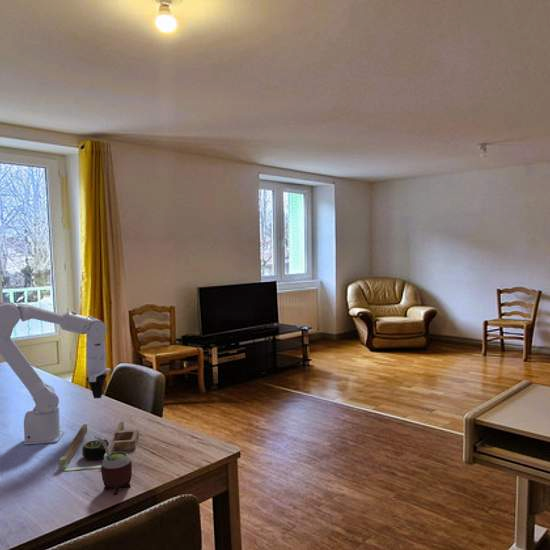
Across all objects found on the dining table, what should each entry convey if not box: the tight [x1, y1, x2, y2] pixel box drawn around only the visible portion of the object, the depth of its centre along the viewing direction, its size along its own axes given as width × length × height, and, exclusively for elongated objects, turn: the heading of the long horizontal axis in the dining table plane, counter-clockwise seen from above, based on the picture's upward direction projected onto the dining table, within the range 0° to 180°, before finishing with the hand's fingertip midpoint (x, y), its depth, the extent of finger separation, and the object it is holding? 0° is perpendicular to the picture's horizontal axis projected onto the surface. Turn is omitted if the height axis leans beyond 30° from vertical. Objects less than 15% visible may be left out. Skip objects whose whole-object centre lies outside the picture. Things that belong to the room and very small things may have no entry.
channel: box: [59, 421, 140, 472], centre depth 136 cm, size 18×26×3 cm
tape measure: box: [81, 439, 110, 461], centre depth 131 cm, size 7×7×4 cm
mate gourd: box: [94, 436, 133, 496], centre depth 113 cm, size 8×8×15 cm
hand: (97, 397), depth 151 cm, fingers closed
